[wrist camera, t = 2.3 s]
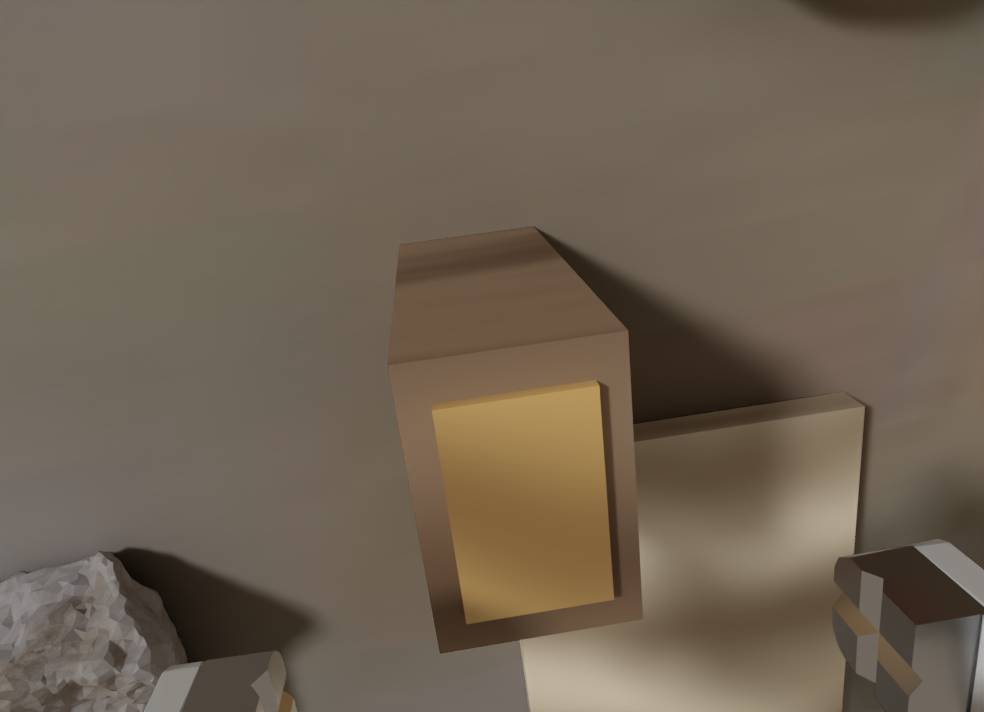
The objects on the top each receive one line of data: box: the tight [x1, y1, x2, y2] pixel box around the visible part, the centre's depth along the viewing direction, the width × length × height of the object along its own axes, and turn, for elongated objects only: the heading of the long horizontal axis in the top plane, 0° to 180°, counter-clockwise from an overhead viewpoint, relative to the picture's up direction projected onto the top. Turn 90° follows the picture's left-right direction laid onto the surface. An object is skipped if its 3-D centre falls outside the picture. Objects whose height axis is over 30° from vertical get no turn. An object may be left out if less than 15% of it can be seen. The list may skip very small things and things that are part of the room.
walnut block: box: [388, 226, 643, 653], centre depth 17 cm, size 6×4×10 cm, turn 7°
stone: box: [0, 551, 187, 712], centre depth 22 cm, size 10×8×6 cm
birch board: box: [520, 392, 865, 712], centre depth 26 cm, size 14×12×1 cm
